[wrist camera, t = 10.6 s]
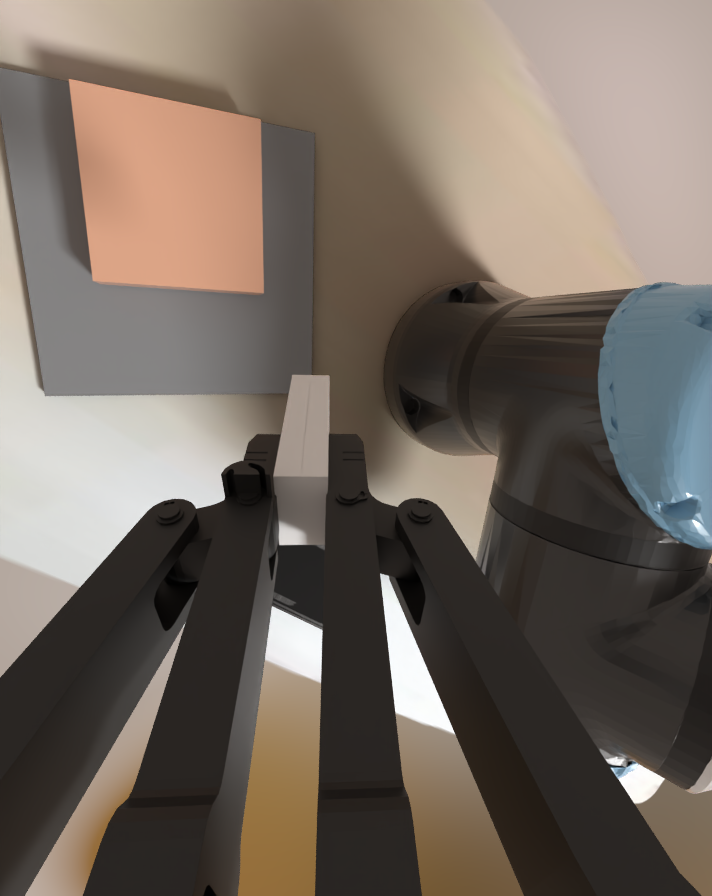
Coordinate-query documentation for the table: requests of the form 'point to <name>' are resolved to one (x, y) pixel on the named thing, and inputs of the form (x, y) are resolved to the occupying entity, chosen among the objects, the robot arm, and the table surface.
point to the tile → (169, 192)
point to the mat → (153, 309)
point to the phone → (300, 582)
